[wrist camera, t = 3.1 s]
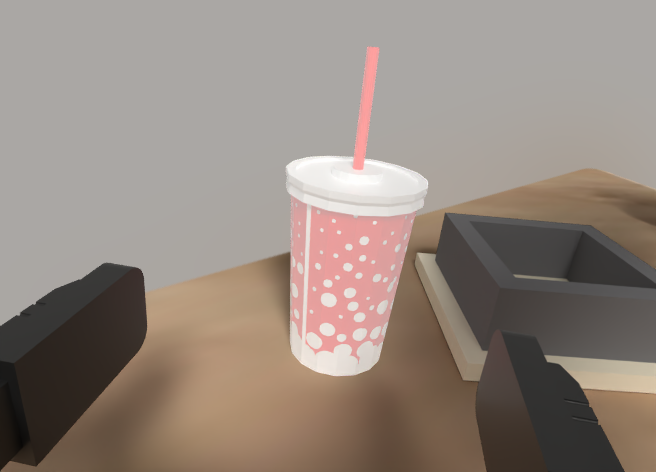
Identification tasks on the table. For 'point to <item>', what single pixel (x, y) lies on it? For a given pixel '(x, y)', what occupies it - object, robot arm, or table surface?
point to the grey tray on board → (545, 297)
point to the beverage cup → (347, 248)
